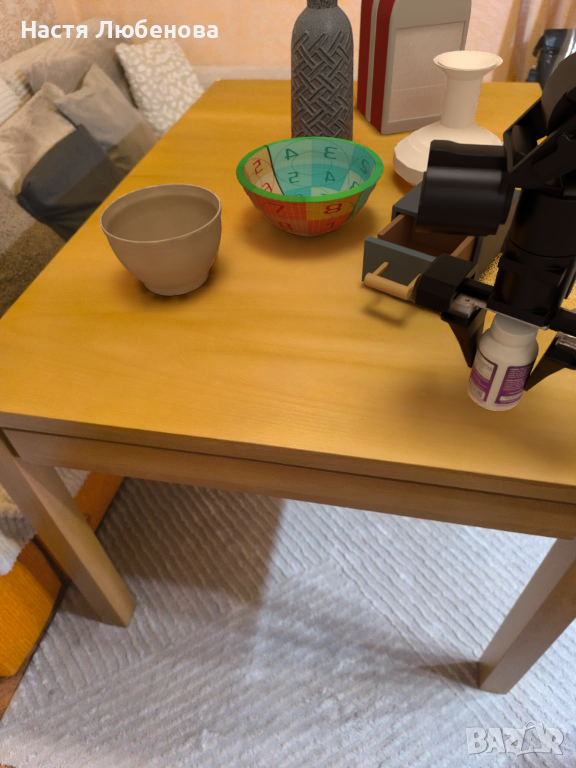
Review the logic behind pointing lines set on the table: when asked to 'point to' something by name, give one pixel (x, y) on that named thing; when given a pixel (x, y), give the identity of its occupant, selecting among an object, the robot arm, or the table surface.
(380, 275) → the drawer
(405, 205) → the cabinet
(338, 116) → the vase
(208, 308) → the table surface
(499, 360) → the pill bottle
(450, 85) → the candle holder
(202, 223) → the planter bowl
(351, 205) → the bowl
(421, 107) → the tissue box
